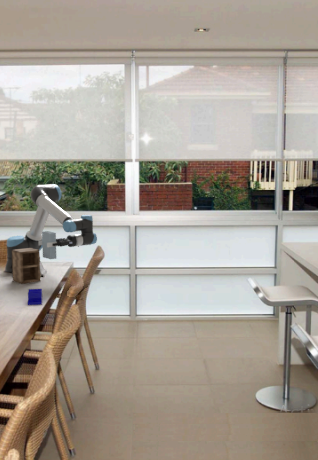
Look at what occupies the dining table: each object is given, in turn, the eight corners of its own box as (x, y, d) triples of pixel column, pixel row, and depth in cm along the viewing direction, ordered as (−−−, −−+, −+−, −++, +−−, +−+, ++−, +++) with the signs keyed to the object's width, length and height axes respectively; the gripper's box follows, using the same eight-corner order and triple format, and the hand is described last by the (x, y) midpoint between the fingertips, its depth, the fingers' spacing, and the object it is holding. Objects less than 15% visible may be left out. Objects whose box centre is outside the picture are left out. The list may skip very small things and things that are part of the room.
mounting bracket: (41, 305, 321) (41, 294, 320) (27, 305, 319) (27, 294, 319) (42, 297, 338) (42, 286, 337) (29, 297, 337) (29, 287, 336)
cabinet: (12, 280, 379) (11, 249, 376) (31, 277, 388) (30, 247, 385) (21, 284, 370) (20, 252, 367) (41, 280, 379) (40, 249, 376)
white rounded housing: (44, 277, 391) (38, 262, 389) (37, 279, 390) (31, 265, 389) (47, 271, 407) (41, 258, 406) (40, 274, 407) (35, 260, 405)
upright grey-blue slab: (41, 257, 372) (40, 231, 370) (48, 256, 375) (47, 231, 373) (49, 259, 365) (48, 233, 362) (56, 258, 368) (55, 232, 365)
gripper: (83, 248, 372) (52, 252, 358) (65, 244, 389) (34, 247, 375) (83, 236, 371) (51, 240, 357) (65, 232, 388) (34, 236, 375)
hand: (43, 244), depth 366 cm, fingers closed on upright grey-blue slab, 10 cm apart
